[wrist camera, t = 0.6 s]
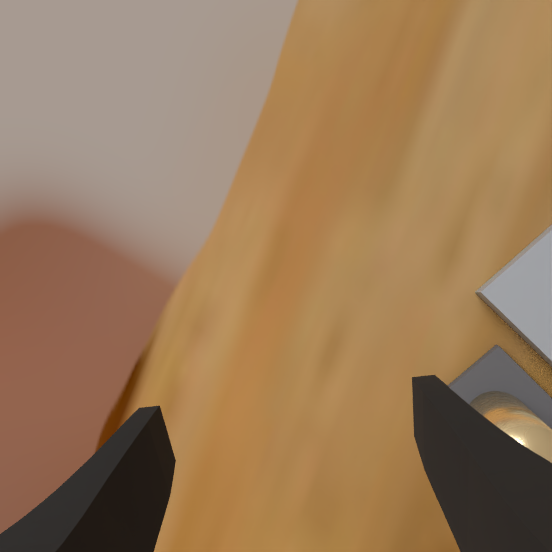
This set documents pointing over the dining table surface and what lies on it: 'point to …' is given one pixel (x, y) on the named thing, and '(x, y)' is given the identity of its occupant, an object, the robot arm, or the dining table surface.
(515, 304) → the plate
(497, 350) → the pad
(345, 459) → the dining table surface
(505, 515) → the robot arm
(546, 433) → the shiny gold tapered cylinder
